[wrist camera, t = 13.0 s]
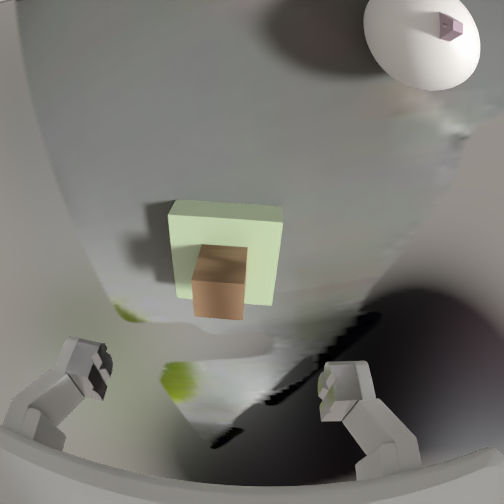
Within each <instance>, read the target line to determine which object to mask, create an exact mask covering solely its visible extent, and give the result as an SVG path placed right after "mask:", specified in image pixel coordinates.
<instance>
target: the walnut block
mask: <svg viewBox="0 0 504 504" xmlns="http://www.w3.org/2000/svg"><path fill="white" fill-rule="evenodd" d="M247 252H248V247H236V246H222V245H207V244H202V245H201V248H200V252H199V255H198V259H197V262H196V265H195V269H194V272H193V276H192V279H191V284H192V294H193V305H194V314H195V316H197V317H208V318H220V319H232V320H243V309H244V297H245V286H246V269H247Z"/></svg>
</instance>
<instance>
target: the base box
mask: <svg viewBox="0 0 504 504" xmlns="http://www.w3.org/2000/svg"><path fill="white" fill-rule="evenodd" d="M168 223H169V233H170V243H171V252H172V261H173V270H174V278H175V285H176V293H177V298H186V299H193V294H192V284H191V279H192V276H193V272H194V269H195V265H196V262H197V259H198V255H199V252H200V248H201V245H202V244H207V245H222V246H236V247H248V252H247V269H246V286H245V297H244V304H256V305H270V306H272V300H273V293H274V286H275V279H276V272H277V265H278V257H279V250H280V242H281V235H282V227H283V215H282V207H279V206H266V205H253V204H239V203H224V202H208V201H190V200H176V201H175V203H174V204H173V206H172V208H171V210H170V212H169V213H168Z"/></svg>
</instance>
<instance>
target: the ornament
mask: <svg viewBox="0 0 504 504" xmlns="http://www.w3.org/2000/svg"><path fill="white" fill-rule="evenodd" d="M363 25H364V33H365V38H366V41H367V44H368V47H369V49H370V51H371V53H372V55H373V56H374V58H375V60H376V61H377V62H378V64H379V65H380V66H381V67H382V69H383V70H384V71H385V72H386V73H387V74H389V75H390V76H391V77H392V78H394V79H395V80H397V81H398V82H400V83H402V84H404V85H406V86H409V87H412V88H416V89H421V90H444V89H448V88H452V87H454V86H457V85H459V84H461V83H462V82H464V81H465V80H466V79H467V78H469V77H470V75H471V74H472V73H473V72H474V70H475V68H476V66H477V64H478V61H479V56H480V38H479V33H478V30H477V27H476V24H475V22H474V20H473V18H472V16H471V15H470V13H469V12H468V10H467V9H466V8H465V6H464V5H463V4H462V3H461V2H460V1H459V0H370V1H369V2H368V4H367V6H366V9H365V13H364V20H363Z"/></svg>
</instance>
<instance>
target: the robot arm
mask: <svg viewBox="0 0 504 504" xmlns="http://www.w3.org/2000/svg"><path fill="white" fill-rule="evenodd" d="M6 1H10V0H0V3H2V2H6ZM106 350H107V347H106V345H105V343H101V342H96V341H91V340H85V339H81V338H77V337H71V336H69V337H68V339H67V340H66V341H65V344H64V346H63V348H62V350H61V353H60V355H59V358H58V359H57V362H56V364H55V366H54V369H53V370H52V369H50V370H49V371H47V372H46V373H45V374H43V375H42V376H41V377H39V378H38V379H37V380H35V381H34V382H33V383H32V384H30V385H29V386H28V387H26V388H25V389H24V390H23V391H21V392H20V393H19V394H18V395H16V396H15V397H14V398H13V399H12V401H11V403H10V406H9V409H8V411H7V414H6V416H5V419H4V422H3V425H2V426H1V425H0V504H504V456H503V455H502V454H501V453H500V452H498V451H497V450H496V449H495V448H493V447H486V448H482V449H480V450H477V451H474V452H471V453H469V454H466V455H463V456H460V457H457V458H454V459H451V460H447V461H444V462H441V463H437V464H434V465H430V466H427V467H423V468H422V463H421V458H420V453H419V448H418V444H417V439H416V437H415V436H414V435H413V434H412V433H411V432H410V431H409V429H408V428H407V427H406V426H405V425H404V424H403V423H402V422H401V421H400V420H399V419H398V418H397V417H396V416H395V415H394V414H393V413H392V412H391V411H390V409H389V408H387V406H386V405H385V404H384V403H383V402H382V401H381V400H380V399H376V397H375V392H374V388H373V384H372V379H371V375H370V370H369V366H368V363H367V362H366V361H345V362H344V361H343V362H327V363H326V364H325V366H324V372H322V373H321V375H320V377H319V381H318V395H319V397H320V398H321V399H322V400H323V401H322V403H321V405H320V414H321V421H342V422H343V424H344V425H345V426H346V428H347V429H348V430H349V432H350V433H351V434H352V436H353V437H354V439H355V440H356V441H357V443H358V444H359V445H360V447H361V448H362V449H363V451H364V452H365V453H366V455H367V456H366V457H365V458H363V459H362V460H360V461H359V462H358V463H357V464H356V465H355V466H356V477H357V481H351V482H343V483H334V484H324V485H309V486H287V487H252V486H230V485H216V484H206V483H196V482H188V481H181V480H174V479H168V478H162V477H156V476H150V475H146V474H141V473H136V472H132V471H127V470H123V469H119V468H115V467H111V466H107V465H104V464H100V463H97V462H93V461H90V460H86V459H84V458H80V457H77V456H74V455H71V454H68V453H66V452H63V447H64V443H65V439H66V436H65V434H64V433H63V432H62V431H61V430H59V429H58V428H57V426H58V425H59V424H60V423H61V422H62V421H63V420H64V419H65V418H66V417H67V416H68V415H69V414H70V412H72V411H73V409H75V408H76V407H77V406H78V405H79V403H80V402H81V401H82V400H83V399H84V397H87V398H91V399H96V400H100V401H103V400H104V396H105V393H106V390H107V385H106V382H105V381H106V380H108V379H109V378H110V377H111V373H112V368H113V362H112V358H111V355H110V354H108V353H107V352H106Z"/></svg>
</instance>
